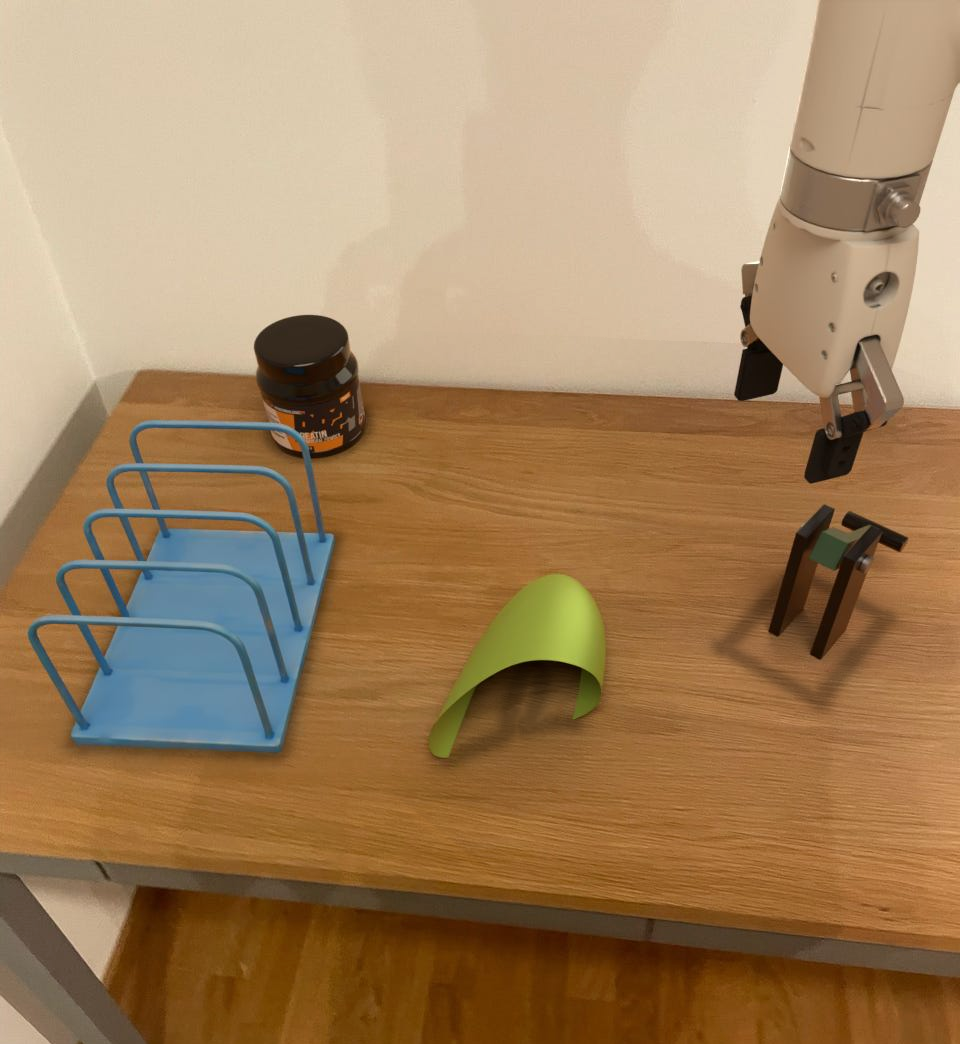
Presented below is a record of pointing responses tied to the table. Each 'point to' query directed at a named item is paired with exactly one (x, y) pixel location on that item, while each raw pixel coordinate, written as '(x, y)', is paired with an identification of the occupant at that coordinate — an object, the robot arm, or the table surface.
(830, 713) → the table surface
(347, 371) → the supplement container
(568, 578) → the curved green shell
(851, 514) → the lever
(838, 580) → the bracket
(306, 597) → the file sorter
